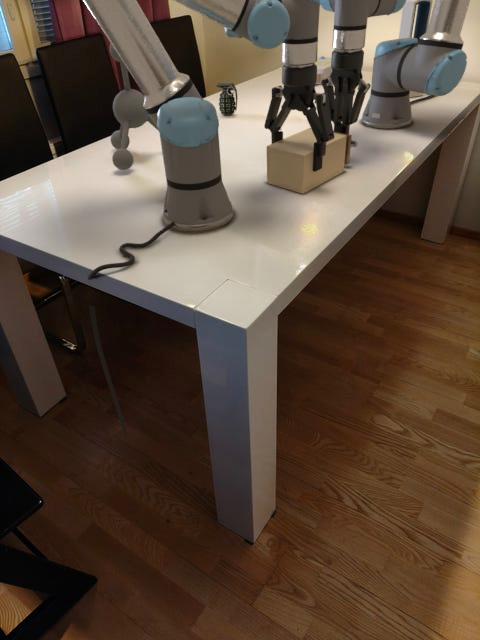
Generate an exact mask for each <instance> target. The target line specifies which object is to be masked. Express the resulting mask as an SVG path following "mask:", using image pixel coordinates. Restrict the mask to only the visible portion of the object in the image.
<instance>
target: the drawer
mask: <svg viewBox="0 0 480 640" xmlns="http://www.w3.org/2000/svg"><path fill="white" fill-rule="evenodd" d="M333 132H334V130H333ZM334 133H337V134H342V135H347V138H346V150H345V162H344V166H348V165H350V158H351V148H357V147H358V145H359V142H358V140H353V139H352V138H353V135H352V134H349V135H348V134H344V133H339V132H334Z"/></svg>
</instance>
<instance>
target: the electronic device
mask: <svg viewBox="0 0 480 640" xmlns="http://www.w3.org/2000/svg"><path fill="white" fill-rule="evenodd" d="M432 7H433V0H406V2H405V4H404V6H403V7H402V9H401V11H402V12H401V18H400V24H399V25H400V26H399V32H398V33H399V34H398V39H402V38H417V39H418V43H419V39H420V37H421V36H422V35H424V34H425V33H426V32H427V30H428V26H429V23H430V19H431V15H432V9H433V8H432ZM417 45H418V44H417ZM422 95H424V93H419V92H414V91H410V94H409V98H415V97H421V96H422Z"/></svg>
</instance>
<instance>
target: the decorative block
mask: <svg viewBox="0 0 480 640" xmlns="http://www.w3.org/2000/svg"><path fill="white" fill-rule="evenodd" d="M331 58H332V57H325V56H320V57H317V61H316V62H315V63H314V64H316V66H317V80H316V84H315V85H322V84H321V81H322V80H324V79H326V78H328V77H329V76H330V73H331V71H332V67H331Z"/></svg>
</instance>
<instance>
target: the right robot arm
mask: <svg viewBox="0 0 480 640" xmlns="http://www.w3.org/2000/svg"><path fill="white" fill-rule="evenodd" d="M405 2H406V0H320V8H322V9H323V10H324V11H327V12H331V13H334V15H333V30H332V43H331V44H332V45H331V48H332V49H334V50H332V52H331V57H330V58H331V67H332V71H331V73H330V76H329V77H328V78H326V79H324V80H322V81H321V84H320V85H321V86H322V89H323V93H324V92H326V93H327V94H328V100H327V105H328V109H329V114H330V118H331V123H332V124H333V131H334V132H339V133H344V134H348V135H350V127H351V125H353V124H356V123H357V122H358V120H359V117H360V114H361V110H362V107H363V105H364V101H365V99H366V98H365V97H366V94H367V93H368V91H369V90H370V95H369V98H368V101H367V103H366V105H365V107H364V110H363V112H362V115H361V123H362V124H363V125H365V126H367V127H369V128H370V127H371V128H375V129H382V130H384V129H385V130H386V129H387V130H392V129H400V128H401V129H402V128H405V127H408V126H410V125H411V124H412V121H413V120H412V119H413V112H412V106H411V104H415V103H418V102H421V101H425V100H428V99H432V98H433V97H435V96H436V97H443V96H446V95H449V94H450V93H451V92H453V90H454V89H455V88H456V87H458V85H459V83H460V82H461V80H462V78H463V76H464V74H465V72H466V69H467V66H468V65H467V64H468V61H467V59H468V56H467V54H466V52H465V51H464V50H463V47H464V44H465V43H464V42H465V41H464V40H463V38H462V36H461V34H462V29H463V26H464V24H465V19H466V16H467V12H468V10H469V5H470V2H471V0H434V4H433V6H432V7H433V8H432V10H431V14H430V20H429V26H428V30H427V32H426V33H425V34H424V35H422V36H421V37H420V39H419V43H418V39H417V38H413V37H412V38H402V39H399V38H395V39H388V40H384V41H381V42H379V43H378V44H377V45H376V46H375V52H374V56H373V65H372V75H371V83H369V82H368V83H366V81H365V80H364V79H363V73H362V70H363V66H364V56H365V51H364V50H363V49H364V48H365V45H366V37H367V36H366V35H367V27H368V18H374V17H381V16H390V15H392V14H396V13H398V12H400V11H402V9H403V6H404V4H405ZM417 44H418V45H417ZM356 89H357V92H356ZM410 91H414V92H419V93H423V95H426V96H424V97H420V98H418V99H417V98H416V99H413V100H411V99H410V97H409V94H410ZM354 96H355V98H354Z"/></svg>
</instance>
